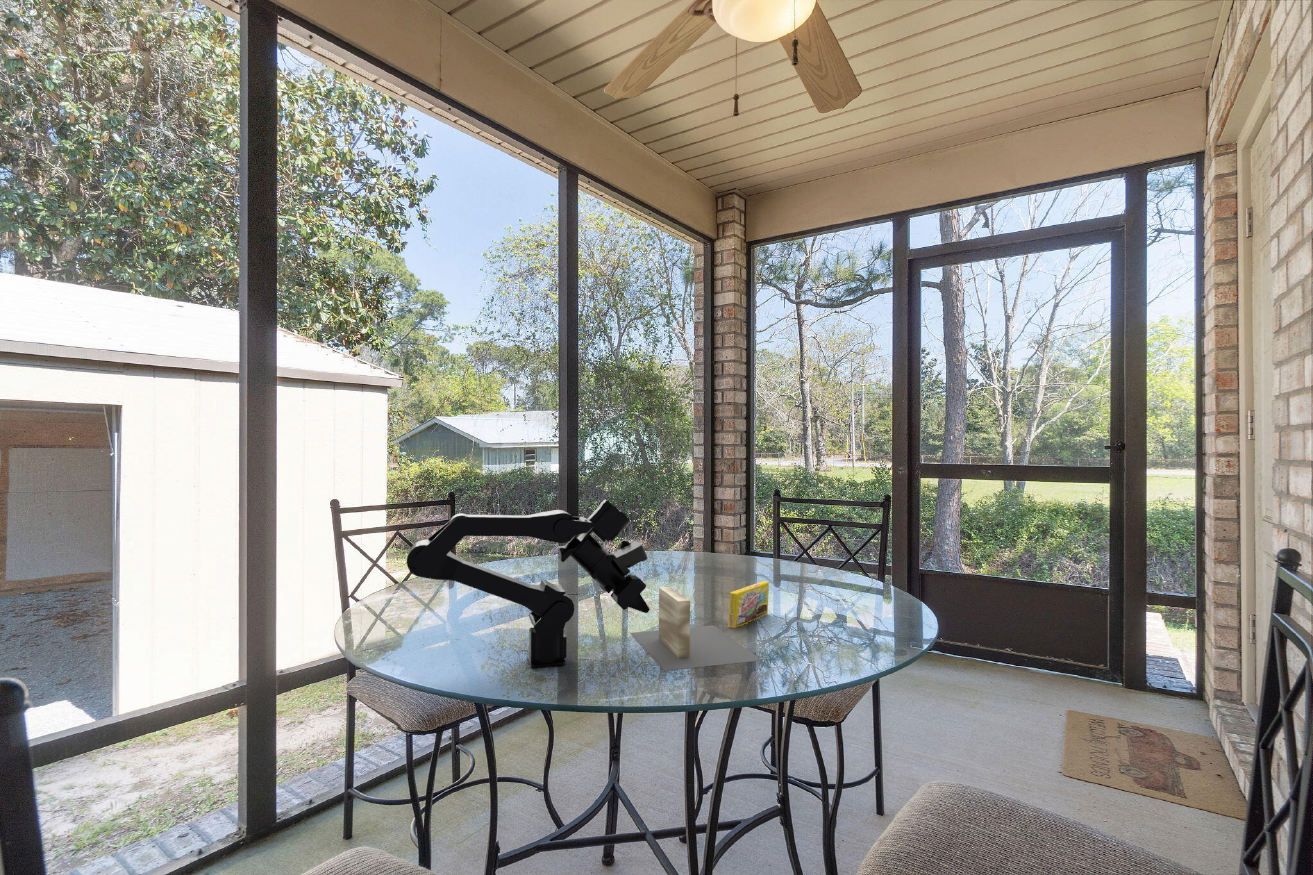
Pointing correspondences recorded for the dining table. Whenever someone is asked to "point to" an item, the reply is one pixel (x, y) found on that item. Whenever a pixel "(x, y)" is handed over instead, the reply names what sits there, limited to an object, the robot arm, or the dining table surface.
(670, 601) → the birch tile
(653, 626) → the dining table surface
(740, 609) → the candy box
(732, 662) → the mat
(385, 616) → the dining table surface
